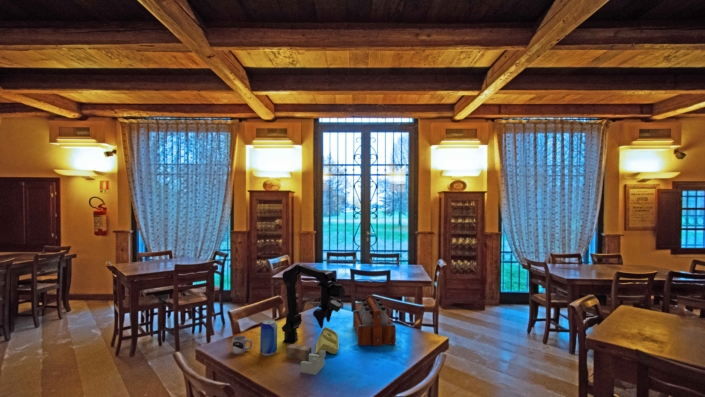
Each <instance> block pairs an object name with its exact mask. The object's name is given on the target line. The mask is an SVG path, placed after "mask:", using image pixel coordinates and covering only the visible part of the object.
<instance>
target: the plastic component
mask: <svg viewBox="0 0 705 397" xmlns="http://www.w3.org/2000/svg"><path fill="white" fill-rule="evenodd" d="M339 340H340V339H339V335H338V333H337V332H336V331H334V329H331V328H329V327H327V326H323V328H322V330H321V332H320V334H319V336H318V338H317V340H316V345H315V350H314V351H315V352H314V353H315V354H317V355H319V351H320V350H326V352H328V353H330V354H333V355H335V354H337V352H338V351H339V349H340V346H339V345H340V344H339Z"/></svg>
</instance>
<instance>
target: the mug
mask: <svg viewBox="0 0 705 397" xmlns="http://www.w3.org/2000/svg"><path fill="white" fill-rule="evenodd" d="M231 341H232V344H231V345H232V346H231V351H232V354H233V355H241V354H243V353H245V352H246V351H248V350H251V349H252V348H253V341H252V340H251V339H249V338H247V336H245V335H237V336H234V337H233V338H232V340H231ZM248 342H249V343H250V344H249V346H247V343H248Z"/></svg>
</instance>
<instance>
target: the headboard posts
mask: <svg viewBox="0 0 705 397" xmlns="http://www.w3.org/2000/svg"><path fill="white" fill-rule="evenodd" d="M326 355H327V351H326V350H320V351H319V353H318V354H316V353H315V354H314V353H312V352H311V353H310V354H309V360H308V361H305V360H301V361H300V373H303V374H308V375H311V376H312V375H313V376H316V375H317V374H318V373H319V372H320V371H321V369H322V368H323V367H325V357H326Z"/></svg>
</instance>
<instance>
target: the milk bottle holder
mask: <svg viewBox="0 0 705 397" xmlns="http://www.w3.org/2000/svg"><path fill="white" fill-rule="evenodd" d="M352 316H353V317H352V318H353V319H352V324H353V325H352V327H353V328H354V330H355V331H354V332H355V336H356V339H357V345H358V346H372V347H382V346H383V345H392V346H394V345H396V344H397V343H396V342H397V339H396V338H397V337H396V336H397V334H396V333H397V332H396V330H397V329H396V328H397V327H396V324H394V323H393V321H392V320H391V318H390V317H389V315H388V313H387V307H386V306H384V302H381V298H380V297H376V298H375V302H374V300H373V297H372V295H371V294H369V295H367V296H366V297H365V298H364V297H362V298H360V306H359V308H358V309H354V310H353V314H352Z"/></svg>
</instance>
